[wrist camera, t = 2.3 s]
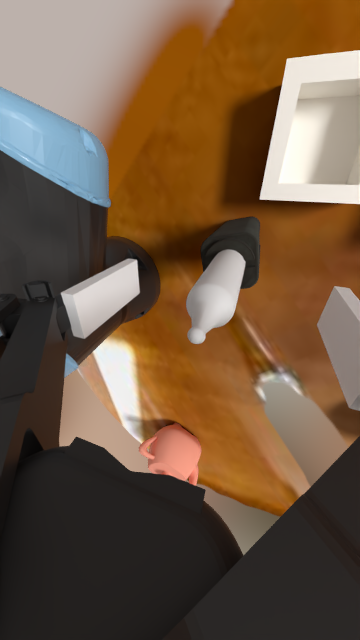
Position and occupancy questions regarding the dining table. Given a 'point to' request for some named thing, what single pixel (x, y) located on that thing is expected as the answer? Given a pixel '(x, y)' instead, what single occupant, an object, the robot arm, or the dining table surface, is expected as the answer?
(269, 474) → the dining table surface
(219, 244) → the candle
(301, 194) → the socket block
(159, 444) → the teapot
